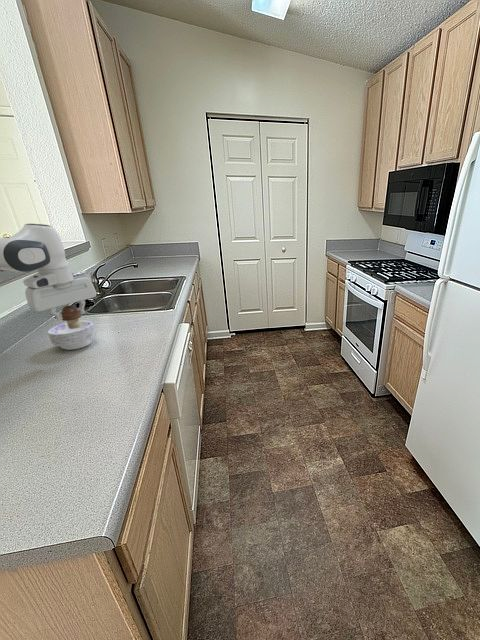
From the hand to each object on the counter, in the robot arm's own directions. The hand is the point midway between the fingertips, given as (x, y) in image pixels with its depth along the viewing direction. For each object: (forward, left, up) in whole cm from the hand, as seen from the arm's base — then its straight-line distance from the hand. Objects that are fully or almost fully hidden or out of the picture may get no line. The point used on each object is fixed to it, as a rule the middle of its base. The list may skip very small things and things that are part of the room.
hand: (71, 316), depth 115 cm
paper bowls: (+4, +13, -16) cm, 21 cm away
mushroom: (0, 0, -4) cm, 4 cm away
